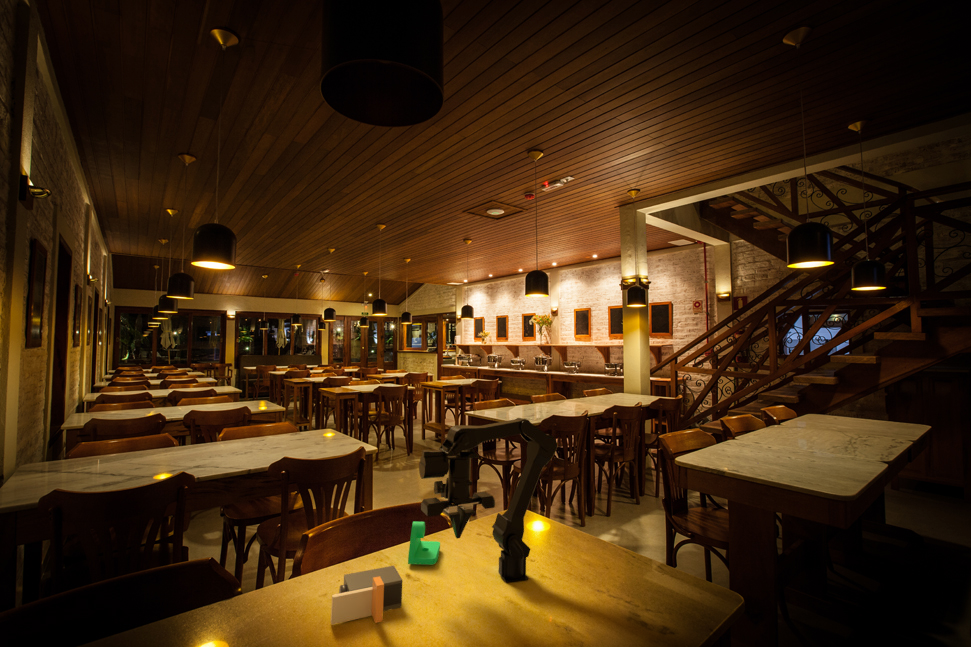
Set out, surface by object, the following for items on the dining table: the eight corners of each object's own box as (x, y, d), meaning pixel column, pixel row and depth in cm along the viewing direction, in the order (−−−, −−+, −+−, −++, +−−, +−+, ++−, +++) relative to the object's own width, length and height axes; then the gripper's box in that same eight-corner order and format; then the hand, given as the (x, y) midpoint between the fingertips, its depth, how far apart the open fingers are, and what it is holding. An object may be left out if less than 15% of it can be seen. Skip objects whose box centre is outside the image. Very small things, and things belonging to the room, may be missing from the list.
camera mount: (435, 568, 120) (436, 530, 121) (407, 568, 120) (409, 529, 121) (440, 550, 132) (441, 515, 133) (415, 549, 132) (416, 514, 133)
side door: (377, 611, 98) (378, 573, 98) (382, 623, 93) (384, 584, 94) (330, 621, 93) (332, 582, 94) (333, 635, 88) (335, 594, 89)
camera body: (392, 590, 107) (393, 565, 108) (401, 607, 100) (402, 580, 101) (337, 602, 102) (338, 575, 102) (342, 621, 94) (343, 592, 95)
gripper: (478, 465, 124) (477, 522, 122) (415, 471, 116) (413, 532, 114) (496, 475, 114) (495, 536, 112) (429, 482, 106) (426, 548, 104)
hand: (457, 537), depth 111 cm, fingers closed
